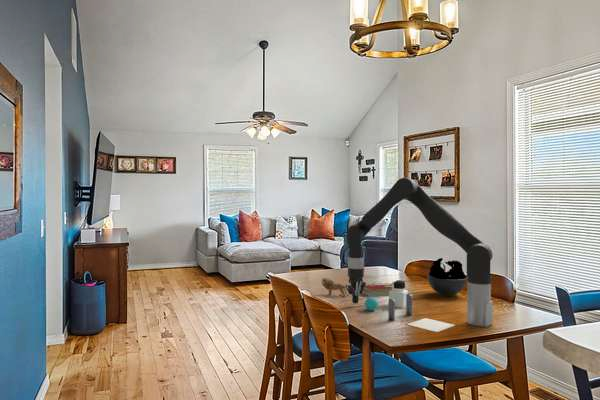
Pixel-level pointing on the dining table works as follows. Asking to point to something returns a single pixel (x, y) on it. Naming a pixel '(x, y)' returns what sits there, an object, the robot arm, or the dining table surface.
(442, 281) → the coal bowl
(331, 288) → the lion figurine
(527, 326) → the dining table surface
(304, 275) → the dining table surface
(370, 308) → the ball
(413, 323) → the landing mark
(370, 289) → the hardcover book
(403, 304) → the medicine bottle
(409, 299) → the right post
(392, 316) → the left post
